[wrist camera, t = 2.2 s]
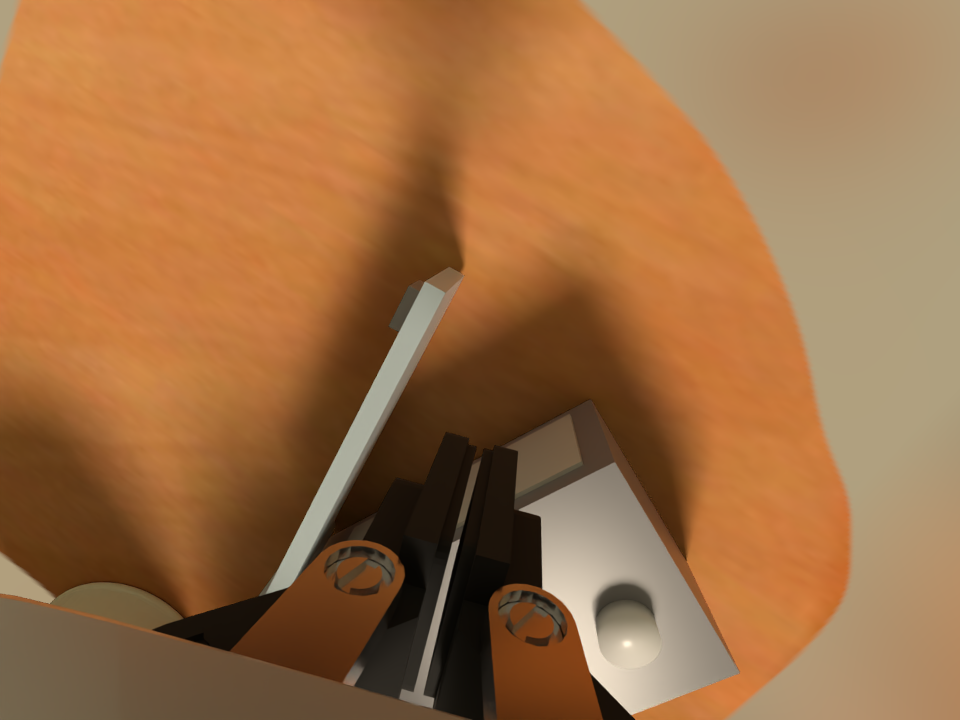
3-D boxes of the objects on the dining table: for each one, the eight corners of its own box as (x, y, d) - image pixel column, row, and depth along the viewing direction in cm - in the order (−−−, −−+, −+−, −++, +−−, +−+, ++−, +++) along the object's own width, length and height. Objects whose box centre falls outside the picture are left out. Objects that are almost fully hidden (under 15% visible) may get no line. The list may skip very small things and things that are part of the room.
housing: (403, 687, 27) (364, 838, 20) (299, 549, 25) (220, 665, 19) (687, 562, 24) (749, 693, 17) (589, 395, 22) (616, 470, 15)
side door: (330, 538, 24) (278, 621, 19) (301, 523, 24) (242, 603, 19) (469, 277, 21) (451, 296, 16) (435, 259, 21) (407, 271, 16)
